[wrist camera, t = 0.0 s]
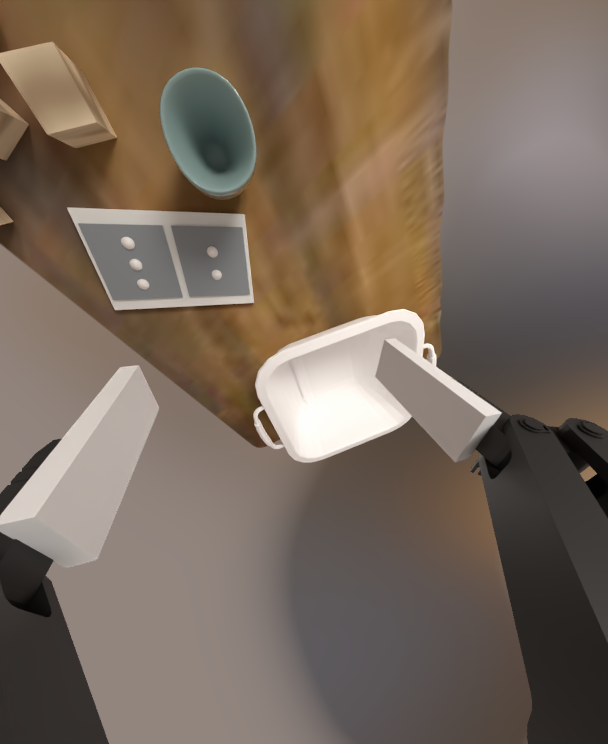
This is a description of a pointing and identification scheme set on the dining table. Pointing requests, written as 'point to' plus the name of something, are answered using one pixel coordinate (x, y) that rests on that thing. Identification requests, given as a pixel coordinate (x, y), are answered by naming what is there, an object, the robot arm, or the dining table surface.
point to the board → (167, 256)
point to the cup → (208, 132)
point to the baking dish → (335, 386)
